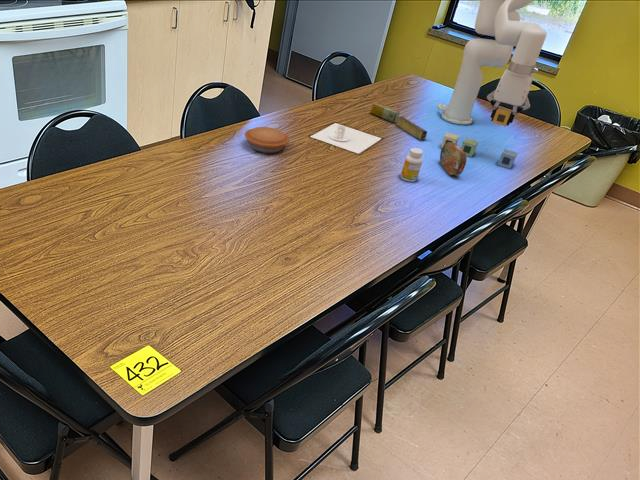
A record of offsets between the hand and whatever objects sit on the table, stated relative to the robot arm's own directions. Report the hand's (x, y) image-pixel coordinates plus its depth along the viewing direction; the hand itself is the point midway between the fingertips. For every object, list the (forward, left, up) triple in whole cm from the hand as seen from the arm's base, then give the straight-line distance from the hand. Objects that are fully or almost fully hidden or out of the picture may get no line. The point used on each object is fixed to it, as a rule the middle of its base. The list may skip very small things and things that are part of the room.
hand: (500, 121), depth 199 cm
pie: (-65, -49, -14) cm, 83 cm away
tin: (-8, -20, -14) cm, 26 cm away
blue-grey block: (+7, 0, -14) cm, 15 cm away
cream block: (-14, 0, -14) cm, 20 cm away
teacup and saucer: (-47, -20, -14) cm, 53 cm away
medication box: (-44, +11, -14) cm, 48 cm away
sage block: (-7, 0, -14) cm, 16 cm away
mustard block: (0, 0, 0) cm, 0 cm away
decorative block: (-30, +3, -14) cm, 34 cm away
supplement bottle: (-17, -37, -14) cm, 43 cm away
